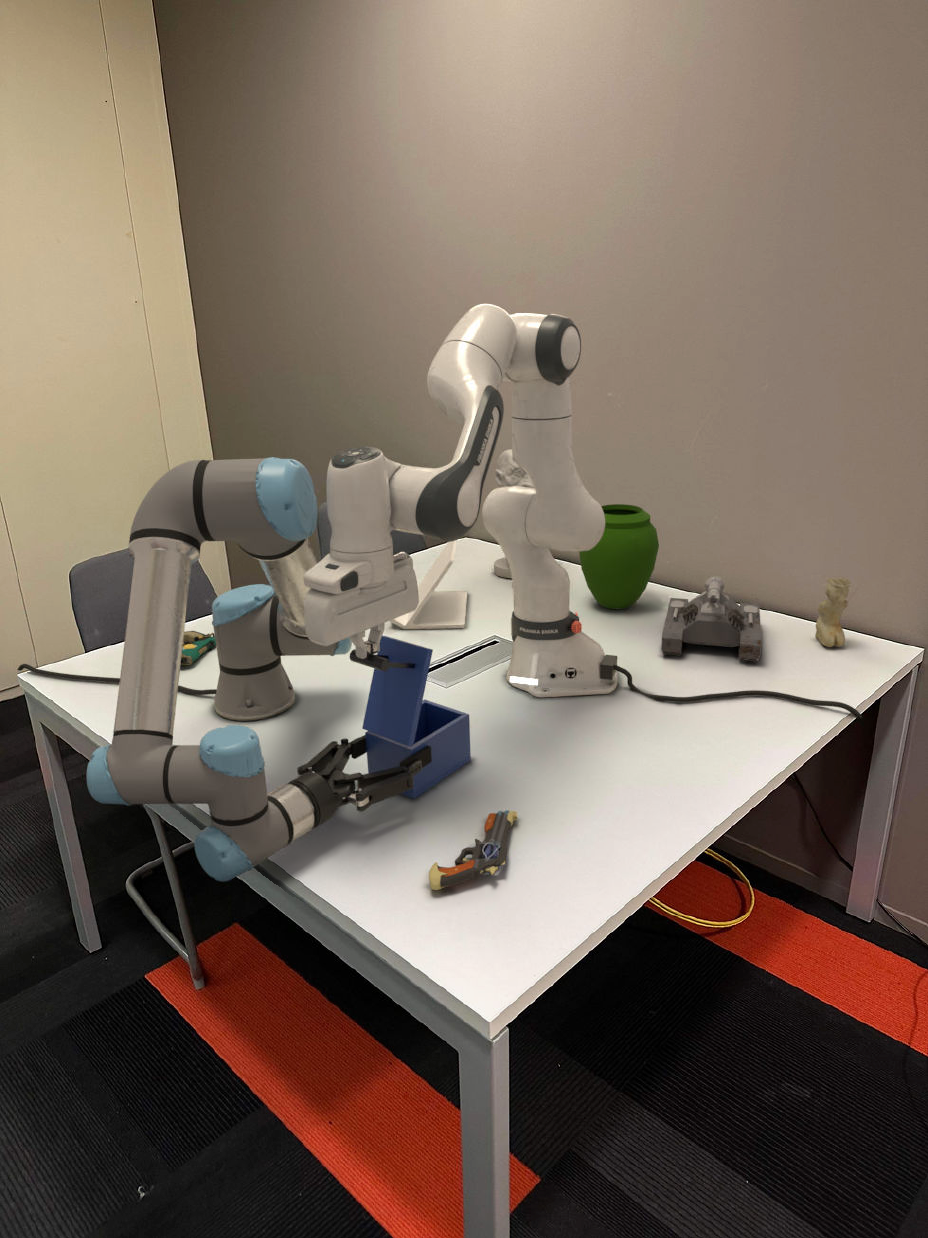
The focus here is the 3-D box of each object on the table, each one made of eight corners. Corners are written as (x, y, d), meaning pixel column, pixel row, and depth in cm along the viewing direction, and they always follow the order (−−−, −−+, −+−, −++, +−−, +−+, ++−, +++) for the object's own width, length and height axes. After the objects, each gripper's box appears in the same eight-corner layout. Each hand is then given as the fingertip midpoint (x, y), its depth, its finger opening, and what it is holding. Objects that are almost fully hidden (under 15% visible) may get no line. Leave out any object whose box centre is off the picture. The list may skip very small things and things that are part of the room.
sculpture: (821, 649, 184) (830, 583, 179) (808, 637, 191) (816, 573, 185) (848, 649, 184) (858, 582, 179) (834, 636, 191) (843, 572, 185)
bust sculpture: (503, 593, 225) (502, 460, 212) (483, 567, 247) (480, 445, 234) (562, 587, 228) (563, 456, 215) (536, 562, 250) (536, 441, 237)
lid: (386, 636, 136) (345, 632, 129) (433, 649, 130) (393, 646, 123) (367, 728, 137) (326, 730, 129) (413, 745, 131) (373, 749, 124)
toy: (669, 617, 205) (672, 557, 199) (757, 623, 199) (763, 562, 194) (660, 658, 182) (664, 591, 177) (759, 666, 177) (766, 598, 171)
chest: (426, 743, 150) (424, 699, 147) (470, 760, 145) (469, 714, 141) (368, 779, 140) (364, 732, 137) (413, 799, 134) (410, 750, 131)
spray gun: (186, 638, 202) (236, 649, 196) (132, 661, 188) (185, 673, 182) (184, 621, 201) (235, 632, 195) (130, 642, 187) (184, 654, 181)
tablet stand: (467, 593, 225) (465, 531, 219) (465, 628, 202) (462, 559, 196) (399, 594, 226) (395, 532, 220) (388, 629, 203) (384, 560, 197)
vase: (599, 587, 227) (601, 497, 218) (668, 600, 216) (673, 505, 208) (562, 608, 212) (564, 513, 204) (634, 623, 202) (639, 523, 193)
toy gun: (424, 878, 111) (499, 877, 109) (452, 806, 129) (517, 804, 127) (426, 896, 112) (501, 896, 110) (454, 822, 130) (519, 821, 128)
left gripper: (251, 803, 129) (356, 745, 145) (357, 857, 116) (459, 786, 132) (246, 760, 126) (353, 705, 143) (353, 809, 113) (458, 743, 129)
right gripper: (395, 545, 131) (399, 630, 136) (293, 578, 116) (302, 671, 121) (426, 552, 127) (429, 638, 132) (325, 586, 112) (333, 682, 117)
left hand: (404, 744), depth 137 cm, fingers closed on chest, 10 cm apart
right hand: (368, 654), depth 126 cm, fingers closed
